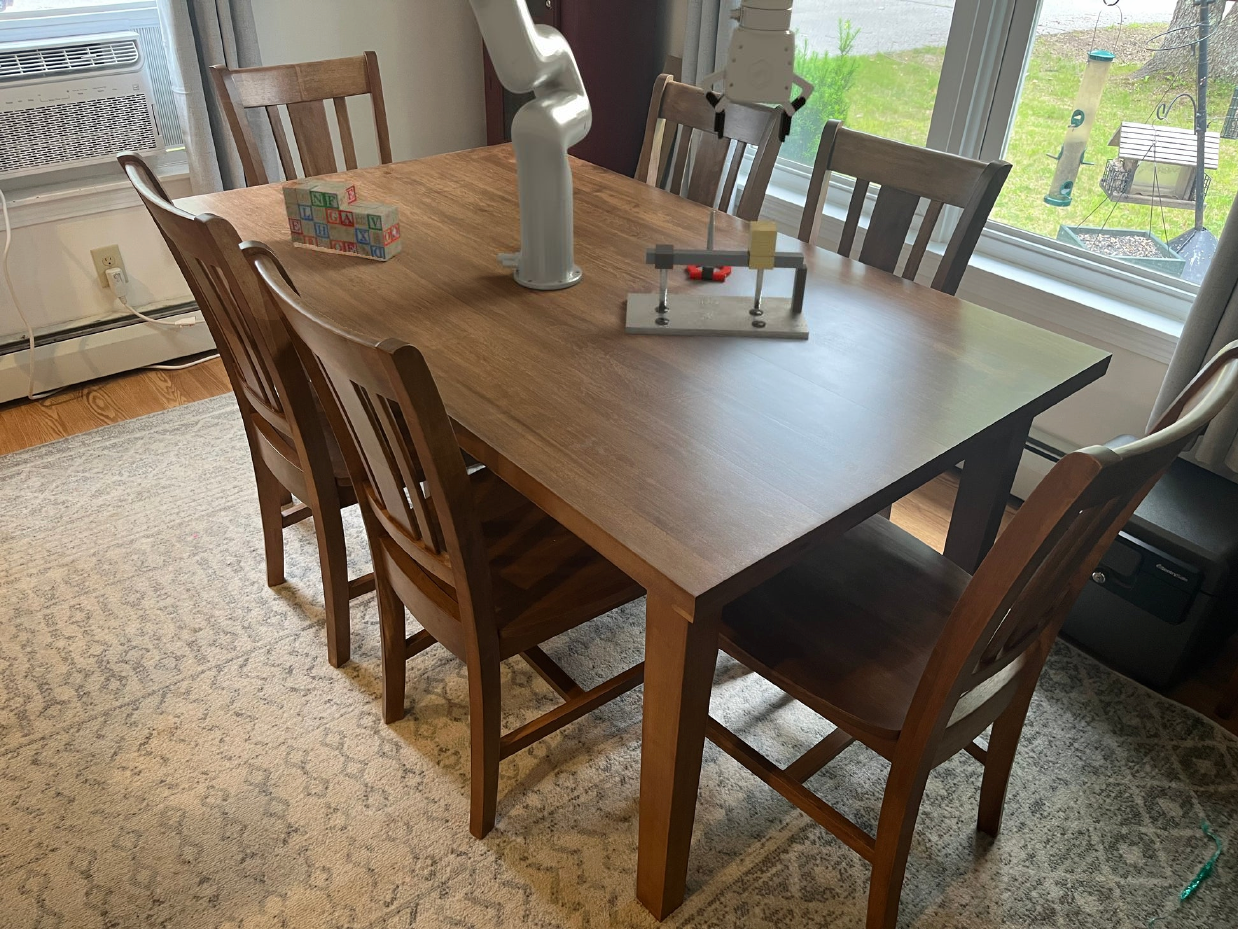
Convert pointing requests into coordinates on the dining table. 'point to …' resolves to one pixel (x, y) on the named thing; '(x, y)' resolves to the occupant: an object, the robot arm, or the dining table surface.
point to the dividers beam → (669, 256)
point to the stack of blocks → (340, 219)
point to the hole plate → (714, 316)
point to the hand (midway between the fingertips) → (750, 138)
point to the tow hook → (708, 271)
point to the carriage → (761, 252)
